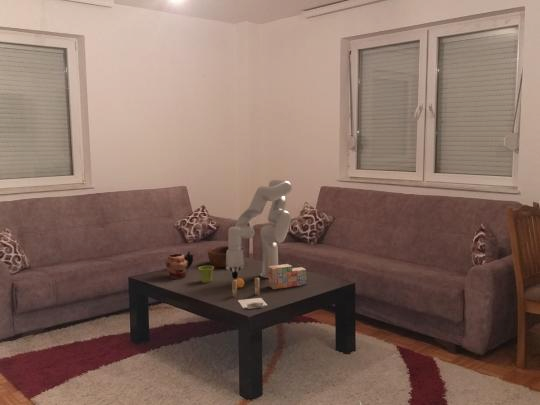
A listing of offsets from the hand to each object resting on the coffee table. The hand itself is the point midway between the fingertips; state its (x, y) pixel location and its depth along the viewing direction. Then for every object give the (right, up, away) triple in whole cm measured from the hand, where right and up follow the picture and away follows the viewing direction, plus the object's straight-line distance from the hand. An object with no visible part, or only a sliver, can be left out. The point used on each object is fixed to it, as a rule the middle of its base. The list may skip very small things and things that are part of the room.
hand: (234, 278), depth 327 cm
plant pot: (-17, -3, +6) cm, 18 cm away
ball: (+3, -1, -9) cm, 9 cm away
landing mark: (+12, -8, -37) cm, 39 cm away
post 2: (+14, -6, -22) cm, 26 cm away
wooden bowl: (-9, +3, +47) cm, 48 cm away
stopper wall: (+13, -9, -45) cm, 47 cm away
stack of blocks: (+31, -4, -5) cm, 32 cm away
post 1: (+2, -6, -25) cm, 26 cm away
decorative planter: (-38, -2, +18) cm, 42 cm away
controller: (-35, +1, +40) cm, 53 cm away
